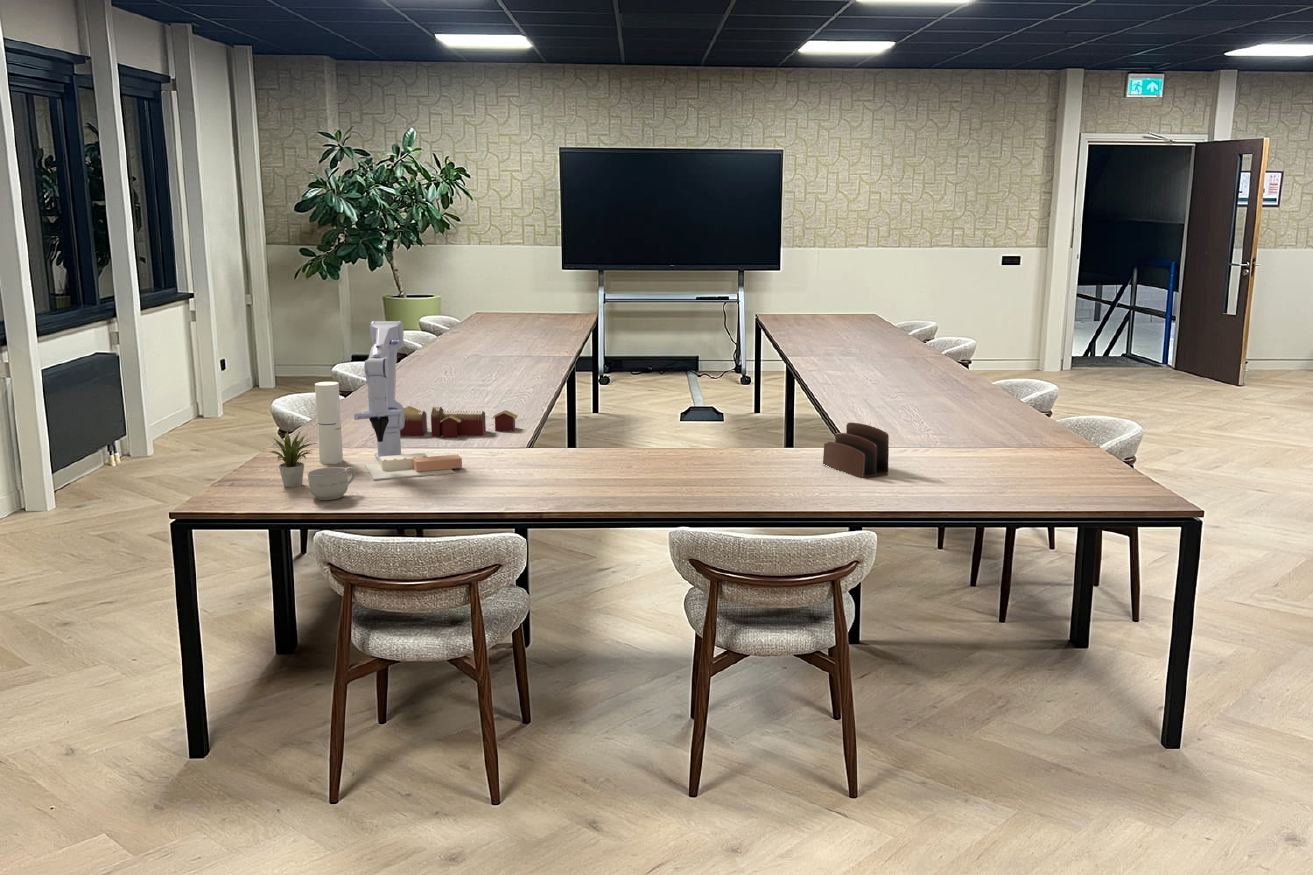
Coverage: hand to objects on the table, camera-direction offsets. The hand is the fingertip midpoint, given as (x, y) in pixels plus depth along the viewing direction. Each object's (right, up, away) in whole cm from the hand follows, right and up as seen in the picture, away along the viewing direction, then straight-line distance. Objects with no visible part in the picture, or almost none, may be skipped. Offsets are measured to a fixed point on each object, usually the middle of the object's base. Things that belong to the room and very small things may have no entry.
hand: (380, 441), depth 346 cm
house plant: (-21, -13, -17) cm, 30 cm away
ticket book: (+6, -8, +6) cm, 12 cm away
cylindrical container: (-19, -7, +14) cm, 24 cm away
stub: (+17, -9, +3) cm, 19 cm away
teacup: (-6, -16, -27) cm, 32 cm away
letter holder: (+146, -9, +6) cm, 146 cm away
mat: (+8, -9, +3) cm, 12 cm away
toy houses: (+12, +3, +58) cm, 60 cm away
